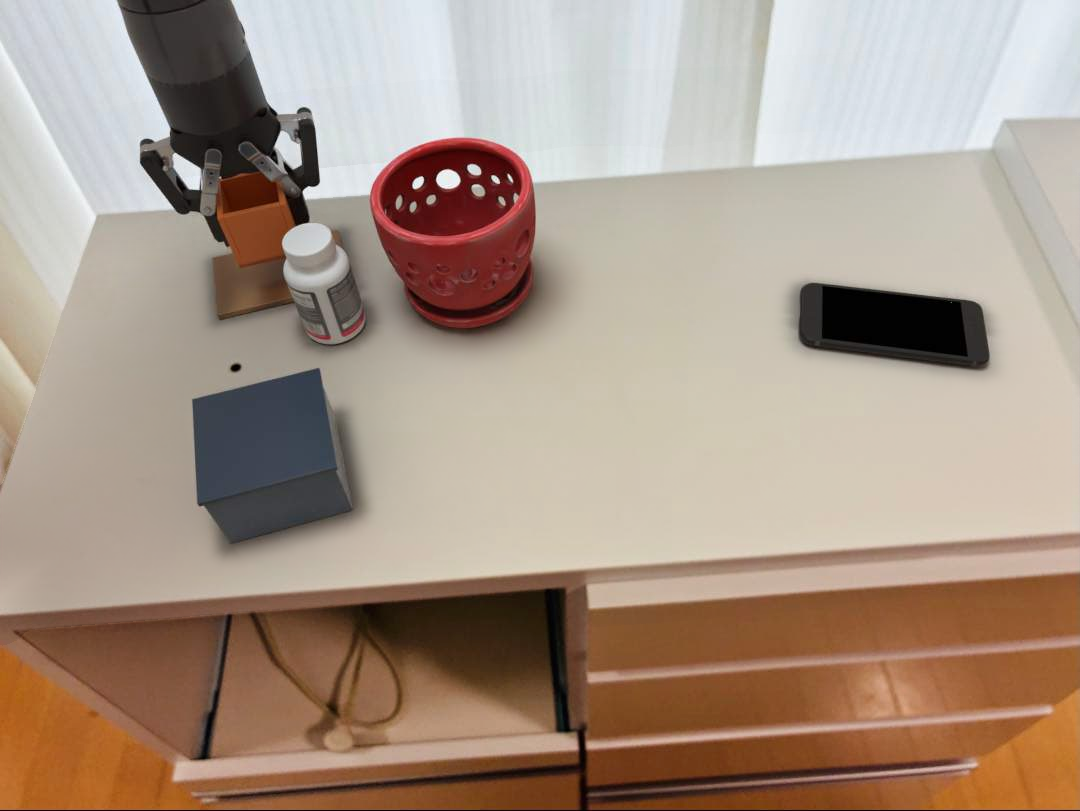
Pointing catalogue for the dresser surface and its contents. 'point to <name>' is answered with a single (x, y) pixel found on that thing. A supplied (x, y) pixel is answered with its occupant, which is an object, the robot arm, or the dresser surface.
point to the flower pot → (458, 230)
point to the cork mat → (250, 285)
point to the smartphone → (893, 324)
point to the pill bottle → (322, 284)
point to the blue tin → (269, 456)
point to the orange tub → (253, 218)
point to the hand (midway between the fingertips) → (265, 232)
